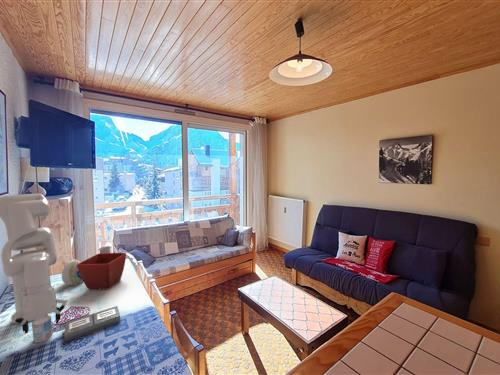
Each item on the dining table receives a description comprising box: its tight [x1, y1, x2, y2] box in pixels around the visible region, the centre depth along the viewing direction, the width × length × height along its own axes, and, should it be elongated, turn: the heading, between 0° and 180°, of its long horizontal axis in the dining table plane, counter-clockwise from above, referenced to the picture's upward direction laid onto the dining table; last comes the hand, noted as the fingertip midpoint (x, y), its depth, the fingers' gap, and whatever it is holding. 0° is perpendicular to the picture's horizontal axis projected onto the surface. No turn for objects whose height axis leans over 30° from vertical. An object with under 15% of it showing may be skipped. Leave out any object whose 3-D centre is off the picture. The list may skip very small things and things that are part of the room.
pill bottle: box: [31, 313, 54, 343], centre depth 97 cm, size 6×6×11 cm
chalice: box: [98, 245, 111, 254], centre depth 159 cm, size 7×7×18 cm
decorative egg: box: [61, 259, 83, 286], centre depth 147 cm, size 12×12×15 cm
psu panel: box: [63, 305, 122, 343], centre depth 104 cm, size 20×10×3 cm, turn 126°
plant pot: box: [77, 252, 127, 291], centre depth 143 cm, size 19×19×17 cm
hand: (42, 326), depth 97 cm, fingers open, 9 cm apart
